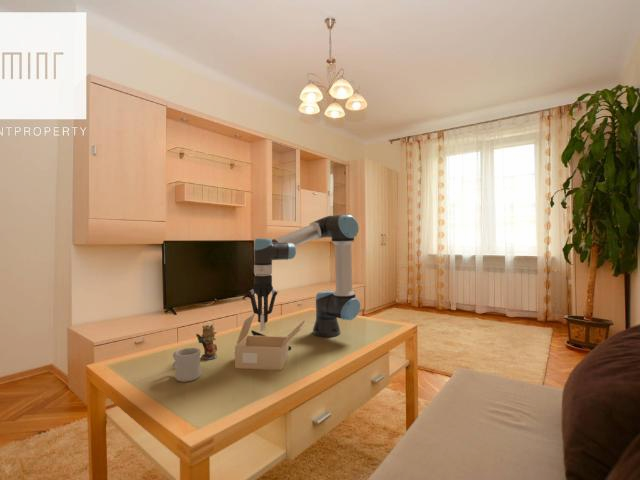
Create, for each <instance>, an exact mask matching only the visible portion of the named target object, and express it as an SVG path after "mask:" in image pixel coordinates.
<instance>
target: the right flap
mask: <svg viewBox="0 0 640 480" xmlns="http://www.w3.org/2000/svg"><path fill="white" fill-rule="evenodd" d="M305 322H306V321H305V320H303V321H302V322H301V323H299V324H298V325H297V326H296V327H295V328H294V329H293V330H292V331H291V332H290V333H289V334H288V335H287V336H285V337H286V339H285V341H284V342H283V344H282V346H284V345H285V344H286V343H287V342H288V343H289V341H290V340H291V339H292V338H294V337H295V336H296V335H297V334H298V333H299V332H300V331H301V330H302V327H303V326H304V324H305Z"/></svg>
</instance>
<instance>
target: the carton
mask: <svg viewBox="0 0 640 480" xmlns="http://www.w3.org/2000/svg"><path fill="white" fill-rule="evenodd" d="M286 337H287V336H279V335H278V336H276V335H275V336H274V335H265V336H254V335H253V334H252V335H250V334H247V336H245V337H244V338H243V339H242V340H241V341H240V342H239V343H238V344H237V343H236V345H235V346H234V369H243V370H246V369H247V370H261V371H262V370H263V371H265V370H266V371H283V369H284V367H285V364H286V363H287V360H288V358H289V350H288V346H289V341H288V342H287V343H286V344H285V345H284V346H282V344H283V342H284V341H285V339H286ZM283 366H284V367H283ZM282 368H283V369H282Z"/></svg>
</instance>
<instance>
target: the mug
mask: <svg viewBox="0 0 640 480" xmlns="http://www.w3.org/2000/svg"><path fill="white" fill-rule="evenodd" d="M172 357H173V359H174V362H173V363H172V367H173V369H174V370H175V374H174V375H175V376H174V377H175V381H177V382H182V383H186V382H188V383H189V382H192V381H196V380H198V379H199V378H200V377H201V374H202V373H201V361H200V360H201V349H200V348H198V347H185V348H182V349H178V350H177V351H174V353H173V354H172Z"/></svg>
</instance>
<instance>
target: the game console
mask: <svg viewBox="0 0 640 480" xmlns="http://www.w3.org/2000/svg"><path fill="white" fill-rule="evenodd" d="M250 333H251V334H252V336H266V335H265V334H264V333H260V332H257V331H255V330H251V331H250ZM291 350H292V346H289V345H288V351H291Z"/></svg>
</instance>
